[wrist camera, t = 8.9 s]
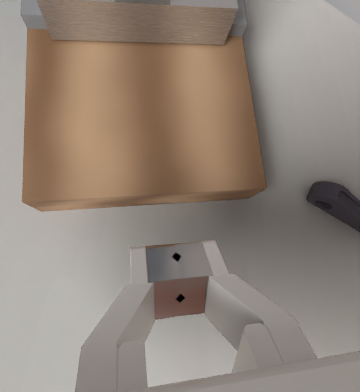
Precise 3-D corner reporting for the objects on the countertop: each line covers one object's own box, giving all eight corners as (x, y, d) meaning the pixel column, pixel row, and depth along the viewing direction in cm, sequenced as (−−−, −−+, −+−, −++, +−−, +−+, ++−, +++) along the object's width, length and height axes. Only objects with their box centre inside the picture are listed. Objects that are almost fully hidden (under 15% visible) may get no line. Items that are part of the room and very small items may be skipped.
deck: (41, 211, 18) (22, 201, 15) (43, 61, 20) (27, 28, 17) (247, 198, 20) (266, 188, 17) (228, 65, 22) (241, 36, 19)
